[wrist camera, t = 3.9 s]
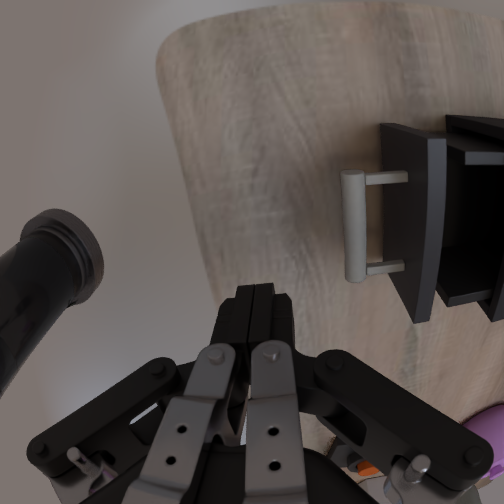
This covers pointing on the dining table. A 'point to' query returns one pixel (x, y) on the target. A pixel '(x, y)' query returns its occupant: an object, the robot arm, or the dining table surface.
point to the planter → (469, 497)
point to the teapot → (491, 435)
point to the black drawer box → (500, 304)
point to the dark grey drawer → (431, 217)
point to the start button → (366, 468)
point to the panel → (344, 455)
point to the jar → (375, 489)
